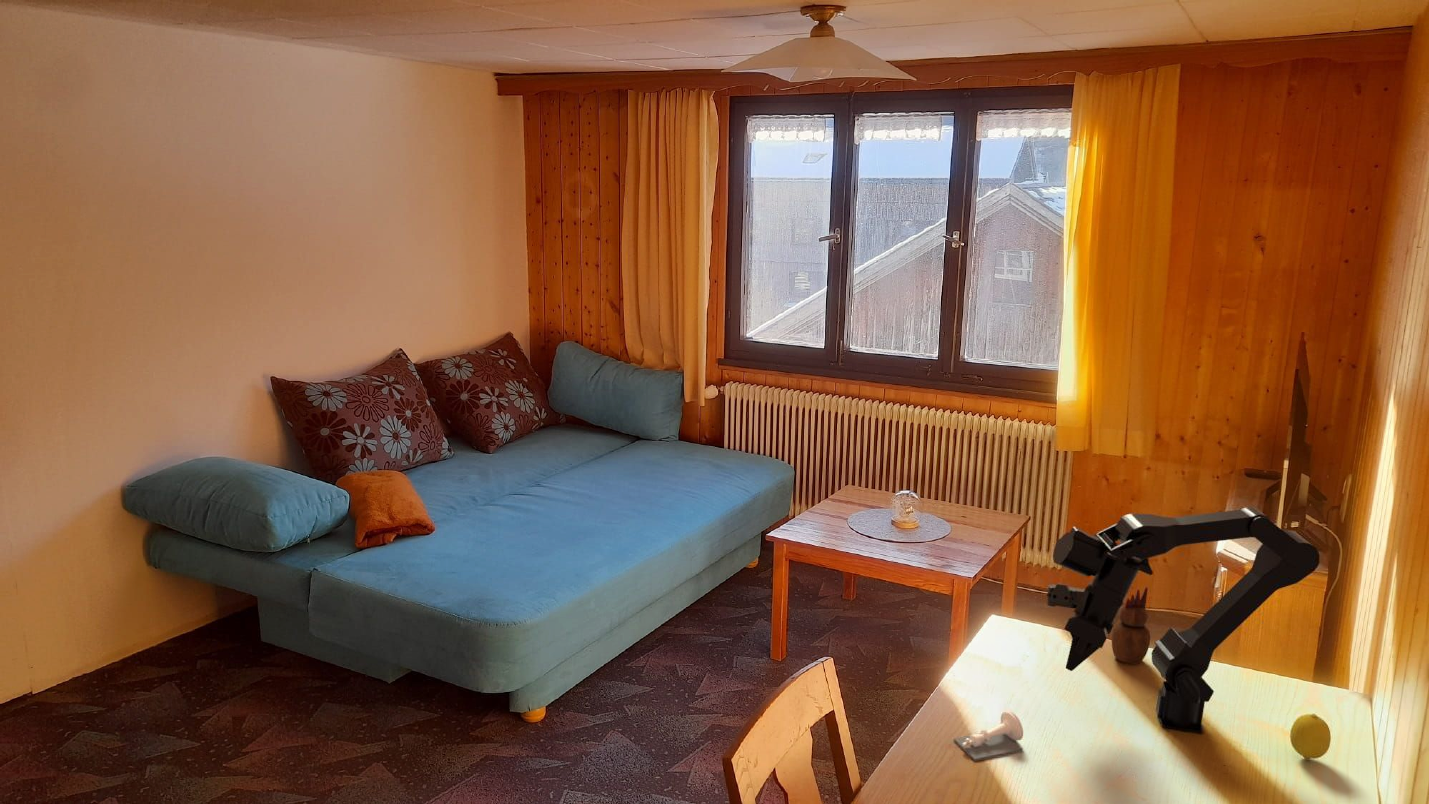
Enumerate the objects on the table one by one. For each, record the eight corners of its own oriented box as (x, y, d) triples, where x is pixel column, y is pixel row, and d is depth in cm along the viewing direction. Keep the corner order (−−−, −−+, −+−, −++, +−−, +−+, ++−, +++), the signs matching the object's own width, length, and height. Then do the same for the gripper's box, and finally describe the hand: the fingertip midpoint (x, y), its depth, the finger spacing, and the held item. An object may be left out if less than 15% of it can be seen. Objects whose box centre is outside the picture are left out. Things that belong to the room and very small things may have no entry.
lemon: (1325, 773, 158) (1334, 727, 157) (1285, 761, 161) (1293, 717, 159) (1326, 756, 163) (1334, 711, 161) (1287, 745, 166) (1295, 701, 164)
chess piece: (1024, 721, 163) (973, 742, 159) (1022, 746, 165) (972, 766, 161) (1004, 704, 167) (954, 723, 164) (1003, 728, 169) (953, 747, 165)
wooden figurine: (1145, 656, 195) (1155, 584, 192) (1147, 669, 190) (1157, 596, 186) (1108, 650, 197) (1117, 578, 194) (1109, 663, 192) (1118, 590, 189)
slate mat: (1000, 731, 168) (1000, 729, 168) (1022, 751, 163) (1022, 749, 163) (953, 740, 165) (953, 738, 165) (974, 761, 160) (974, 758, 160)
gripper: (1069, 559, 179) (1031, 637, 180) (1056, 568, 162) (1014, 653, 164) (1131, 589, 174) (1091, 669, 176) (1124, 602, 157) (1080, 689, 159)
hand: (1068, 669), depth 169 cm, fingers closed
